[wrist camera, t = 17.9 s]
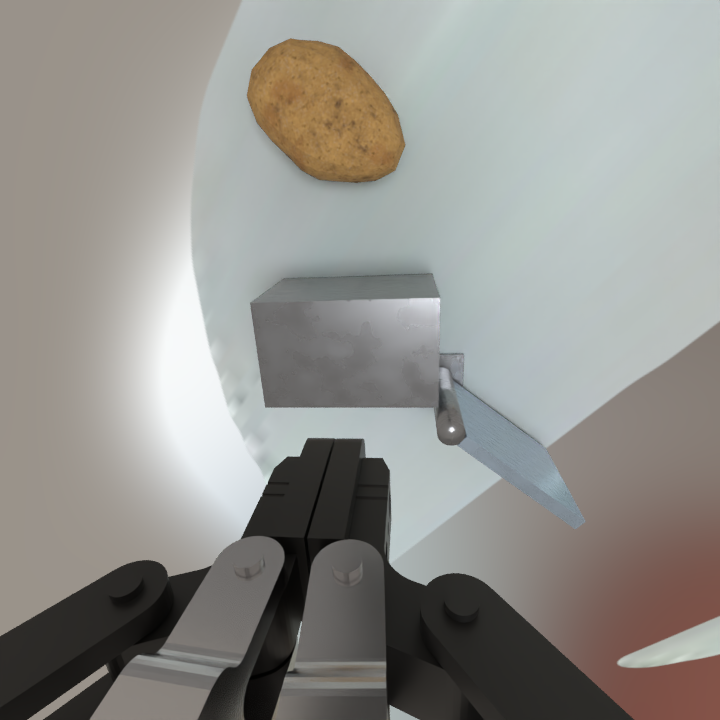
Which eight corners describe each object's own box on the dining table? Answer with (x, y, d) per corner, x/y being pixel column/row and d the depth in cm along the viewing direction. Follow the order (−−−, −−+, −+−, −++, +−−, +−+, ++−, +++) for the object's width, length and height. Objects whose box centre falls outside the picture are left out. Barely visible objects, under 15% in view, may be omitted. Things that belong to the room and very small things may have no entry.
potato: (373, 212, 44) (367, 216, 36) (250, 134, 42) (218, 122, 35) (428, 117, 40) (432, 100, 33) (296, 28, 39) (270, -10, 31)
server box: (297, 394, 52) (270, 444, 42) (283, 278, 47) (250, 302, 37) (461, 394, 50) (476, 446, 40) (466, 272, 45) (484, 296, 35)
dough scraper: (425, 378, 49) (431, 435, 38) (439, 363, 48) (449, 416, 37) (534, 457, 51) (570, 533, 40) (549, 444, 50) (590, 517, 39)
